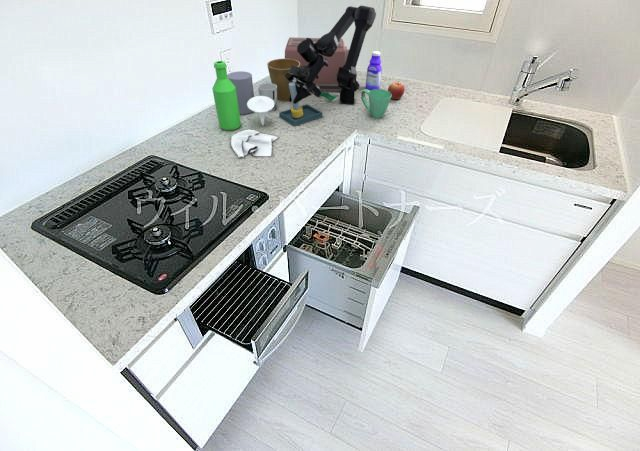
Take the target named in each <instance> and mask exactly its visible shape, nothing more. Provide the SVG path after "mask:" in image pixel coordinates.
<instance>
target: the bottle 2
mask: <svg viewBox="0 0 640 451" xmlns="http://www.w3.org/2000/svg"><path fill="white" fill-rule="evenodd" d="M381 60H382V59H381V52H380V51H378V50H374V51H372V52H371V57H370V60H369V64H368V66H367V69H366V78H365V89H367V90H370V91H371V90H375V89H380V87H381V80H382V79H381V78H382V73H383V72H382V70H383V67H382V65H381V64H382V61H381Z"/></svg>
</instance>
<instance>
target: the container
mask: <svg viewBox="0 0 640 451" xmlns="http://www.w3.org/2000/svg"><path fill="white" fill-rule="evenodd" d="M227 77H228V79H229V80H230V81H231V82H232V83H233V85H234V86H235V87H236V94H237V100H238V107H239V114H240V115H250V114H252V113H253V112H254V111H252V110H250V109H249V108H248V106H247V102H248V101H249V100H250V99H251V98H253V97H255V92H254V84H253V83H254V82H253V75H252V73H251V72H248V71H243V70H241V71H240V70H239V71H232V72H230V73H227ZM254 113H255V112H254Z"/></svg>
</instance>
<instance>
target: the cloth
mask: <svg viewBox="0 0 640 451" xmlns="http://www.w3.org/2000/svg"><path fill="white" fill-rule="evenodd" d="M278 138H279V136H275V135H273V134H266V133H262V132H259V131H258V130H253V129H244V130H241V131H239V132H236V133H235V134H233V135H231V136H230V145H231V148H232V150H233V152H234V153H235V155H236V156H237V157H238V158H245V156H247V155H248V154H250V155H252V156H254V157H271V156H272V149H273V144H272V143H273V142H274V141H276V140H277V139H278Z"/></svg>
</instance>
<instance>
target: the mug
mask: <svg viewBox="0 0 640 451" xmlns="http://www.w3.org/2000/svg"><path fill="white" fill-rule="evenodd" d="M360 94H361V95H360V96H361V97H360V98H361V101H362V103H363V106H364V107H365V109H366V110H367V111H369V112H370V115H371V117H372V118H373V119H382V118H384V115H385V113H386V111H387V109H388V107H389V104H390V101H391V99H392V98H391V96H392V94H391V95H390V92H389V91H388V89H387V90H386V89H381V88H379V89H375V90H370V89H367V88H364V89H363V90H362V91H361V93H360ZM366 94H367V95H368V100H367V98H366Z"/></svg>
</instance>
